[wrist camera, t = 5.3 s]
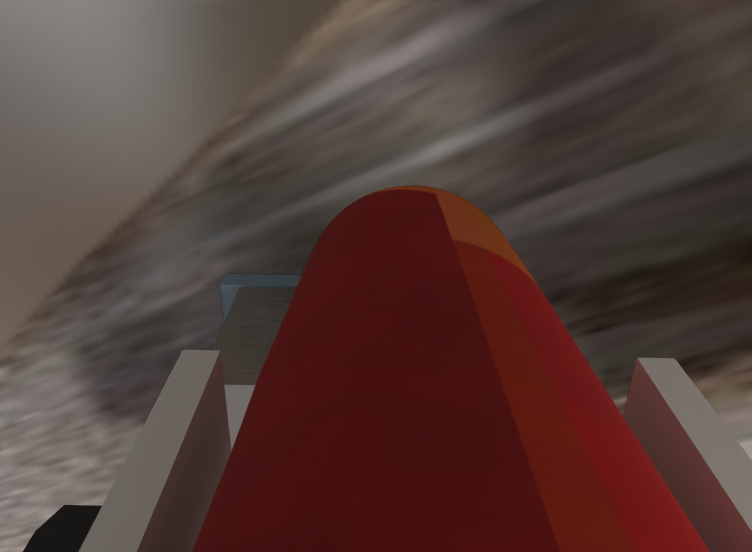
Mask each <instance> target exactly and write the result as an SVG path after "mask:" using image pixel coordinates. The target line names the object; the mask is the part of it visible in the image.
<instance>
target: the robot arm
mask: <svg viewBox="0 0 752 552" xmlns="http://www.w3.org/2000/svg"><path fill="white" fill-rule="evenodd" d="M623 418H624V419H625V421H626V422H627V424H628V425H629V427H630V428H631V430H632V432H633V433H634V435H635V436H636V438H637V439H638V441H639V442H640V444H641V446H642V447H643V449H644V450H645V452H646V453H647V455H648V456H649V458H650V460H651V461H652V463H653V464H654V466H655V467H656V469H657V470H658V472H659V473H660V475H661V477H662V478H663V480H664V481H665V483H666V484H667V486H668V487H669V489H670V491H671V492H672V494H673V495H674V497H675V498H676V500H677V501H678V503H679V505H680V506H681V508H682V509H683V511H684V512H685V514H686V515H687V517H688V519H689V520H690V522H691V523H692V525H693V526H694V528H695V529H696V531H697V532H698V534H699V536H700V537H701V539H702V540H703V542H704V543H705V545H706V546H707V548H708V550H709V551H710V552H752V460H751V459H750V457H749V456H748V455H747V453H746V452H745V451H744V450H743V448H742V447H741V446H740V444H739V443H738V442H737V440H736V439H735V438H734V436H733V435H732V434H731V432H730V431H729V430H728V428H727V427H726V426H725V424H724V423H723V422H722V420H721V419H720V418H719V416H718V415H717V414H716V412H715V411H714V410H713V408H712V407H711V406H710V404H709V403H708V402H707V400H706V399H705V398H704V397H703V395H702V394H701V393H700V391H699V390H698V389H697V387H696V386H695V385H694V383H693V382H692V381H691V379H690V378H689V377H688V375H687V374H686V373H685V371H684V370H683V369H682V367H681V366H680V365H679V363H678V362H677V361H676V359H675V358H637V360H636V365H635V369H634V373H633V377H632V381H631V385H630V389H629V393H628V397H627V401H626V405H625V409H624V414H623ZM231 451H232V449H231V441H230V432H229V423H228V414H227V405H226V396H225V387H224V378H223V369H222V360H221V351H220V350H182V352H181V354H180V356H179V358H178V360H177V362H176V364H175V366H174V368H173V370H172V372H171V373H170V375H169V377H168V379H167V381H166V383H165V385H164V387H163V389H162V391H161V393H160V395H159V397H158V399H157V401H156V403H155V405H154V406H153V408H152V410H151V412H150V414H149V416H148V418H147V420H146V422H145V424H144V426H143V428H142V430H141V432H140V434H139V436H138V438H137V439H136V441H135V443H134V445H133V447H132V449H131V451H130V453H129V455H128V457H127V459H126V461H125V463H124V465H123V467H122V469H121V470H120V472H119V474H118V476H117V478H116V480H115V482H114V484H113V486H112V488H111V490H110V492H109V494H108V496H107V498H106V500H105V502H104V503H103V505H102V506H86V505H64V506H63V507H62V508H61V509H59V510H58V511H57V512H56V513H55V514H54V515H53V516H52V517H51V518H49V519H48V520H47V521H46V522H45V523H44V524H43V525H42V526H41V527H39V528H38V529H37V530H36V531H35V533H34V534H33V536H32V537H31V539H30V541H29V542H28V544H27V546H26V547H25V549H24V551H23V552H192V551H193V548H194V546H195V543H196V541H197V538H198V536H199V533H200V531H201V528H202V525H203V523H204V520H205V518H206V515H207V513H208V510H209V508H210V505H211V502H212V500H213V497H214V495H215V492H216V490H217V487H218V485H219V482H220V479H221V477H222V474H223V472H224V469H225V467H226V464H227V462H228V459H229V456H230V454H231Z"/></svg>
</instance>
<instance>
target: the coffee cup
mask: <svg viewBox="0 0 752 552" xmlns="http://www.w3.org/2000/svg"><path fill="white" fill-rule="evenodd" d="M192 552H710V551H709V550H708V548H707V546H706V545H705V543H704V542H703V540H702V539H701V537H700V536H699V534H698V532H697V531H696V529H695V528H694V526H693V525H692V523H691V522H690V520H689V519H688V517H687V515H686V514H685V512H684V511H683V509H682V508H681V506H680V505H679V503H678V501H677V500H676V498H675V497H674V495H673V494H672V492H671V491H670V489H669V487H668V486H667V484H666V483H665V481H664V480H663V478H662V477H661V475H660V473H659V472H658V470H657V469H656V467H655V466H654V464H653V463H652V461H651V460H650V458H649V456H648V455H647V453H646V452H645V450H644V449H643V447H642V446H641V444H640V442H639V441H638V439H637V438H636V436H635V435H634V433H633V432H632V430H631V428H630V427H629V425H628V424H627V422H626V421H625V419H624V418H623V416H622V414H621V413H620V411H619V410H618V408H617V407H616V405H615V404H614V402H613V400H612V399H611V397H610V396H609V394H608V393H607V391H606V390H605V388H604V386H603V385H602V383H601V382H600V380H599V379H598V377H597V376H596V374H595V372H594V371H593V369H592V368H591V366H590V365H589V363H588V362H587V360H586V359H585V357H584V355H583V354H582V352H581V351H580V349H579V348H578V346H577V345H576V343H575V342H574V340H573V339H572V337H571V335H570V334H569V332H568V331H567V329H566V328H565V326H564V325H563V323H562V322H561V320H560V319H559V317H558V315H557V314H556V312H555V311H554V309H553V308H552V306H551V305H550V303H549V302H548V300H547V299H546V297H545V295H544V294H543V292H542V291H541V289H540V288H539V286H538V285H537V283H536V282H535V280H534V279H533V277H532V276H531V274H530V273H529V271H528V270H527V268H526V267H525V265H524V264H523V262H522V261H521V259H520V258H519V256H518V255H517V253H516V252H515V251H514V249H513V248H512V246H511V245H510V244H509V242H508V241H507V239H506V238H505V237H504V235H503V234H502V232H501V231H500V230H499V229H498V228H497V226H496V225H495V224H494V223H493V222H492V220H491V219H490V218H489V217H488V216H487V215H486V214H485V213H484V212H482V211H481V210H480V209H479V208H477V207H476V206H475V205H473V204H472V203H470V202H469V201H467V200H465V199H464V198H462V197H460V196H458V195H456V194H453V193H450V192H448V191H444V190H441V189H437V188H433V187H426V186H399V187H392V188H388V189H383V190H380V191H377V192H374V193H371V194H369V195H366V196H364V197H362V198H360V199H359V200H357V201H355V202H354V203H352V204H351V205H349V206H348V207H346V208H345V209H344V210H343V211H341V212H340V213H339V214H338V215H337V216H336V217H335V218H334V219H333V220H332V221H331V223H330V224H329V225H328V226H327V227H326V229H325V230H324V231H323V233H322V234H321V236H320V238H319V239H318V241H317V243H316V245H315V247H314V249H313V251H312V253H311V255H310V257H309V259H308V262H307V264H306V266H305V268H304V271H303V273H302V275H301V278H300V280H299V282H298V285H297V287H296V290H295V292H294V295H293V297H292V300H291V302H290V305H289V307H288V309H287V312H286V314H285V317H284V319H283V321H282V324H281V326H280V328H279V330H278V333H277V335H276V337H275V340H274V342H273V344H272V347H271V349H270V351H269V354H268V356H267V358H266V360H265V363H264V365H263V367H262V370H261V372H260V374H259V377H258V379H257V382H256V385H255V388H254V390H253V393H252V396H251V399H250V401H249V404H248V407H247V410H246V412H245V415H244V418H243V421H242V423H241V426H240V429H239V432H238V435H237V437H236V440H235V443H234V446H233V448H232V451H231V454H230V456H229V459H228V462H227V464H226V467H225V469H224V472H223V474H222V477H221V479H220V482H219V485H218V487H217V490H216V492H215V495H214V497H213V500H212V502H211V505H210V508H209V510H208V513H207V515H206V518H205V520H204V523H203V525H202V528H201V531H200V533H199V536H198V538H197V541H196V543H195V546H194V548H193V551H192Z"/></svg>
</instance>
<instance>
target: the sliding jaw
mask: <svg viewBox="0 0 752 552" xmlns="http://www.w3.org/2000/svg"><path fill="white" fill-rule="evenodd" d="M295 290H296V288H254V287H239V289H238V291H237V293H236V296H235V298H234V301H233V303H232V305H231V308H230V310H229V312H228V315H227V317H226V319H225V322H224V324H223V326H222V329H221V331H220V334H219V336H218V338H217V341H216V343H215V345H214V348H213V350H220V351H221V360H222V369H223V378H224V387H225V396H226V405H227V414H228V423H229V432H230V441H231V449H232V448H233V446H234V443H235V440H236V437H237V435H238V432H239V429H240V426H241V423H242V421H243V418H244V415H245V412H246V410H247V407H248V404H249V401H250V399H251V396H252V393H253V390H254V388H255V385H256V382H257V379H258V377H259V374H260V372H261V370H262V367H263V365H264V363H265V360H266V358H267V356H268V354H269V351H270V349H271V347H272V344H273V342H274V340H275V337H276V335H277V333H278V330H279V328H280V326H281V324H282V321H283V319H284V317H285V314H286V312H287V309H288V307H289V305H290V302H291V300H292V297H293V295H294V292H295Z"/></svg>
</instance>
